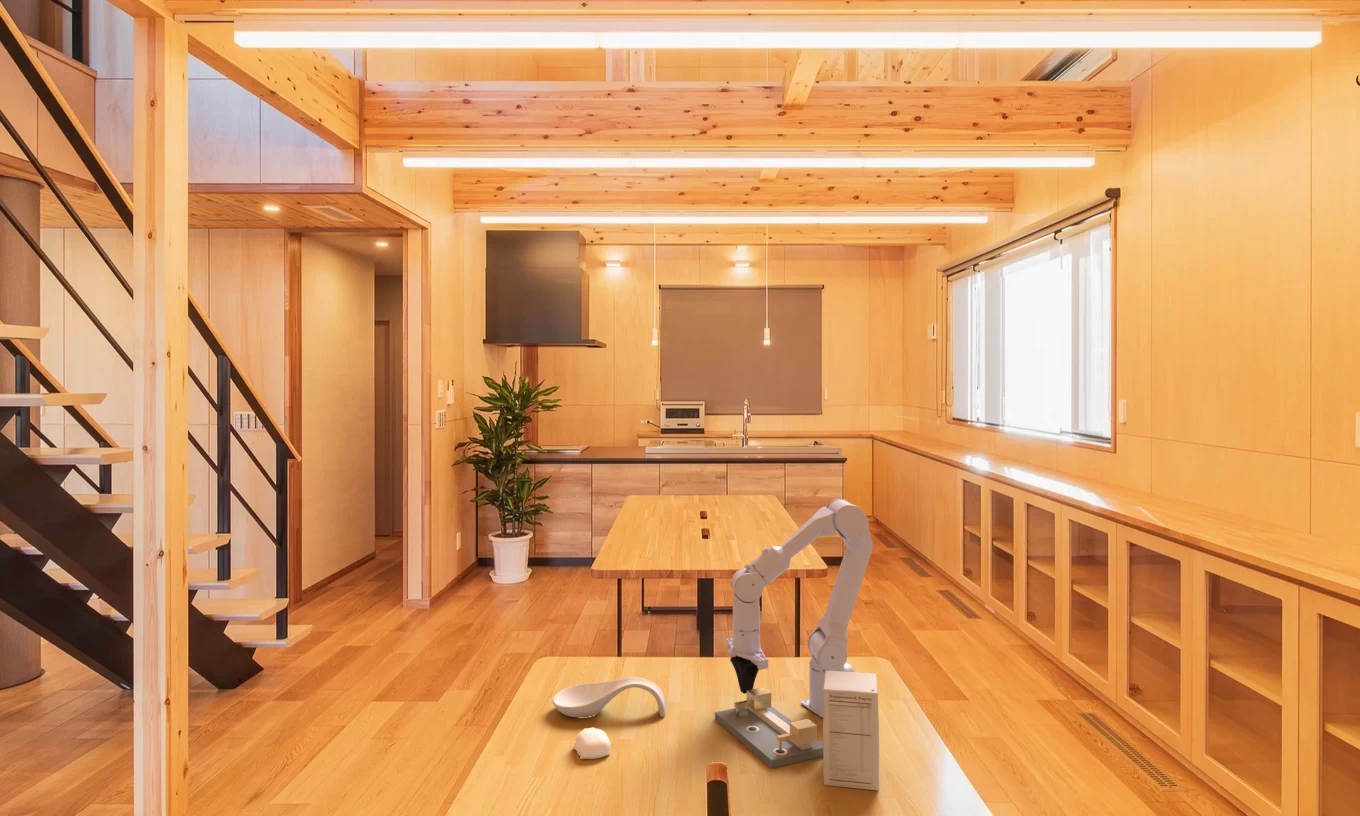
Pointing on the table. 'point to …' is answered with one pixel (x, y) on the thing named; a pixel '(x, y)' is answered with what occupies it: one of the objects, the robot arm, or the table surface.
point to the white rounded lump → (592, 744)
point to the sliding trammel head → (755, 700)
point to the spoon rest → (601, 696)
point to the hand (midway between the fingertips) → (746, 691)
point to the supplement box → (851, 730)
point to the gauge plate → (772, 735)
